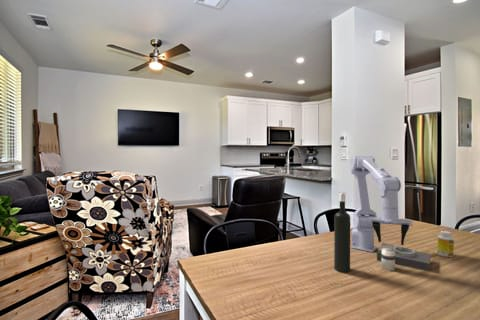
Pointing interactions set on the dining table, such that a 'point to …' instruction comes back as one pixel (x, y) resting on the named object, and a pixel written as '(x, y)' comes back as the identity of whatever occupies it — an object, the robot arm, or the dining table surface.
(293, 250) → the dining table surface
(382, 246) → the camera body
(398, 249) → the mount ring
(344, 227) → the wine bottle
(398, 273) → the dining table surface
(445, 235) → the supplement bottle
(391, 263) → the lens
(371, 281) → the dining table surface
